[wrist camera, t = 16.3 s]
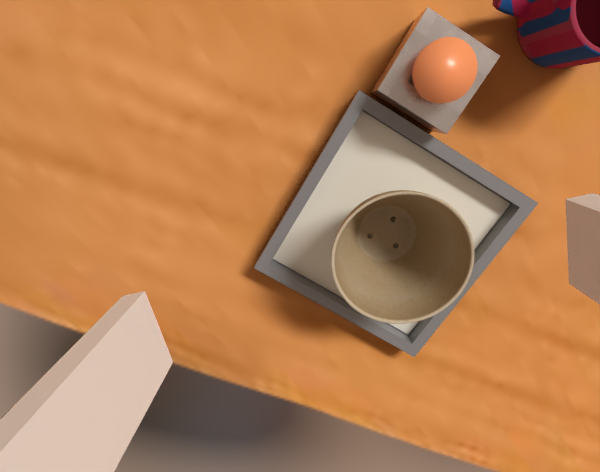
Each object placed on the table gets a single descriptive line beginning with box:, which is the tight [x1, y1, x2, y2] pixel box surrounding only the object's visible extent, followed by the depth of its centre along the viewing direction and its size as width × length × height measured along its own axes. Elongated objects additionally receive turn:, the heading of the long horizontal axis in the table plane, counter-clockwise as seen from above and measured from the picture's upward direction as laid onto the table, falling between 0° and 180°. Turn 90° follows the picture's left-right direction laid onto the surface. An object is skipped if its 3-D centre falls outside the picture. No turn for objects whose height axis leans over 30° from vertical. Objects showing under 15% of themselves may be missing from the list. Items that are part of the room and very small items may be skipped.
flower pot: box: [331, 190, 475, 324], centre depth 31 cm, size 10×10×7 cm
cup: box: [493, 0, 600, 69], centre depth 27 cm, size 7×10×7 cm
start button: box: [412, 37, 478, 103], centre depth 27 cm, size 4×4×3 cm
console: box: [371, 7, 500, 134], centre depth 30 cm, size 6×6×4 cm
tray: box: [254, 90, 538, 357], centre depth 34 cm, size 17×17×2 cm
